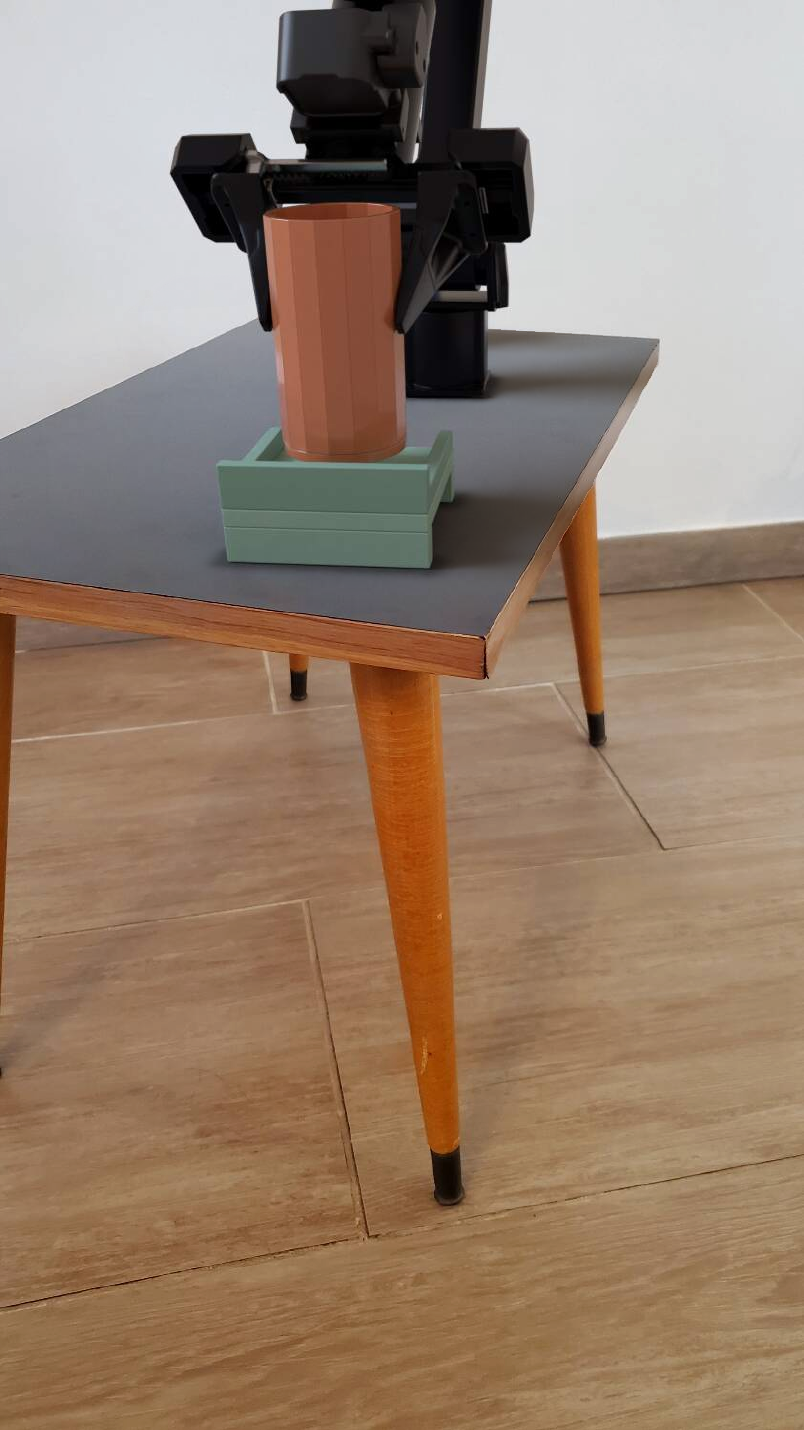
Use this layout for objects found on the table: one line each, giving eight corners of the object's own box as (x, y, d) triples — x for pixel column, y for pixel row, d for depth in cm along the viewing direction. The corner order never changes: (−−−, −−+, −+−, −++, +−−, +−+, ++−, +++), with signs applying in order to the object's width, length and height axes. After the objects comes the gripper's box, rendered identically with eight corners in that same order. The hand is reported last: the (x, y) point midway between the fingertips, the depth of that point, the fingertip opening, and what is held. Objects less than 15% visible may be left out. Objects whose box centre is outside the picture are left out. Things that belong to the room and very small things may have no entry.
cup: (317, 423, 66) (301, 201, 59) (425, 433, 63) (420, 203, 57) (262, 459, 60) (238, 219, 54) (377, 471, 58) (366, 222, 52)
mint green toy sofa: (454, 495, 68) (453, 407, 65) (429, 569, 58) (427, 469, 55) (278, 491, 69) (270, 404, 66) (227, 562, 60) (215, 465, 57)
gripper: (157, -49, 55) (95, 225, 52) (534, -71, 51) (495, 224, 48) (230, 121, 66) (183, 357, 62) (547, 113, 62) (516, 365, 58)
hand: (331, 328), depth 57 cm, fingers closed on cup, 7 cm apart
